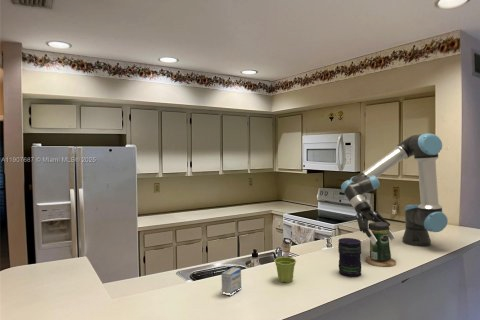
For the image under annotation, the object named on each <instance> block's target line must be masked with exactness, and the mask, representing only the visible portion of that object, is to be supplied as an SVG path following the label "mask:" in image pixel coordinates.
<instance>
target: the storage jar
mask: <svg viewBox="0 0 480 320" xmlns="http://www.w3.org/2000/svg"><path fill="white" fill-rule="evenodd" d="M361 243H362V241H361V239H358V238H352V237H342V238H339V239H338V247H337V248H338V257H339V259H338V269H339V270H338V274H339V275H340V276H343V277H346V278H359V277H361V276H362V262H361V261H362V260H361V258H362V257H361V254H362V245H361Z"/></svg>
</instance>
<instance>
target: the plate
mask: <svg viewBox="0 0 480 320" xmlns="http://www.w3.org/2000/svg"><path fill="white" fill-rule="evenodd" d="M364 261H365V262H366V264H368V265H371V266H375V267H379V268H380V267H382V268H389V267H395V266H396V265H397V261H396V260H395V259H394V258H392V257H391V259H390V260H386V261H376V260H375V261H374V260H372V259H371V258H370V255H369V256H366V257H365V260H364Z"/></svg>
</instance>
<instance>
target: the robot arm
mask: <svg viewBox="0 0 480 320" xmlns="http://www.w3.org/2000/svg"><path fill="white" fill-rule="evenodd" d="M442 149H443V142H442V140H441V139H440V137H439V136H438V135H436V134H433V133H421V134H413V135H411V136H408V137H407V138H405V139H404V140H402V141H401V142H400V143H399V144H397V145H396V146H395V147H394V149H393V150H391V151H390V152H389V153H387V154H386V155H384V156H383V157H382V158H380V159H379V160H377V161H376V162H374V163H373V164H372V165H370V166H369V167H368V168H366V169H365V170H363V171H362V172H360V173H359V174H357V175H354V176H352V177H350V178H349V179H347V180H345V181H344V182H342V184H341V185H340V189H341V191H342V193H343V194H344V195H345V198H347V200H348V201H349V203H350V204H351V206H352V208H353V209H354V210H355V212H356V214H355V216H354V217H355V218H356V220H357V221H356V222H357V224H358V229H359V231H360V232H361V233H363V234H366V237H368V238H369V241H370V240H371V241H372V243H373V244H375V243H376V242H377V239H376V238H375V236H374V235H373V233H372V232H371V230H370V229H369V221H370V222H371V221H372V223H374V222H386V223H388V225H389V241H392V242H393V240H395V238H396V236H395V235H394V233H393V232H392V230H391V228H390V226H391V223H390V222H388V221H387V220H386V219H385V218H384V217H383V216H382V215H381V214H380V213H379V211H377V210H375V211H372V209H371V206H370V204H369V203H368V202H367V200H366V199H365V197H364V194H367V193H369V192H372V191H375V190H376V189H378V188H380V184H381V183H380V180H379V178H378V177H380V176H381V175H383V174H384V173H386V172H387V171H388V170H390V169H392V168H394V166H396V165H397V164H399V163H400V162H401V161H403V160H407V159H408V158H410V157H412V156H413V158H414V160H415V161H416V162H417V168H418V169H417V170H418V184H419V185H418V186H419V196H420V197H419V200H420V204H407V205H405V208H404V213H405V214H404V215H405V224H404V225H405V229H404V232H403V236H402V243H403V244H405V245H409V246H414V247H415V246H417V247H428V246H429V247H430V246H431V245H432V239H431V237H430V235H429V232H432V233H441V232H442V231H443V230H444V229H445V228H446V227H447V225H448V223H449V222H448V220H449V219H448V217H447V215H446V214H445V213H444V212H443V207H442V205H441V204H439V193H438V178H437V163H436V161H437V160H438V158H439V153H441V151H442ZM368 229H369V230H368Z"/></svg>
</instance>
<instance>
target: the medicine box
mask: <svg viewBox="0 0 480 320" xmlns="http://www.w3.org/2000/svg"><path fill="white" fill-rule="evenodd" d="M240 288H241V289H242V268H240V267H234V266H232V267H230V268H229V269H227V270H225V271H223V272H221V293H222V292H225V293H230V294H232V293H233V292H235V291H237V290H238V289H240Z"/></svg>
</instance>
